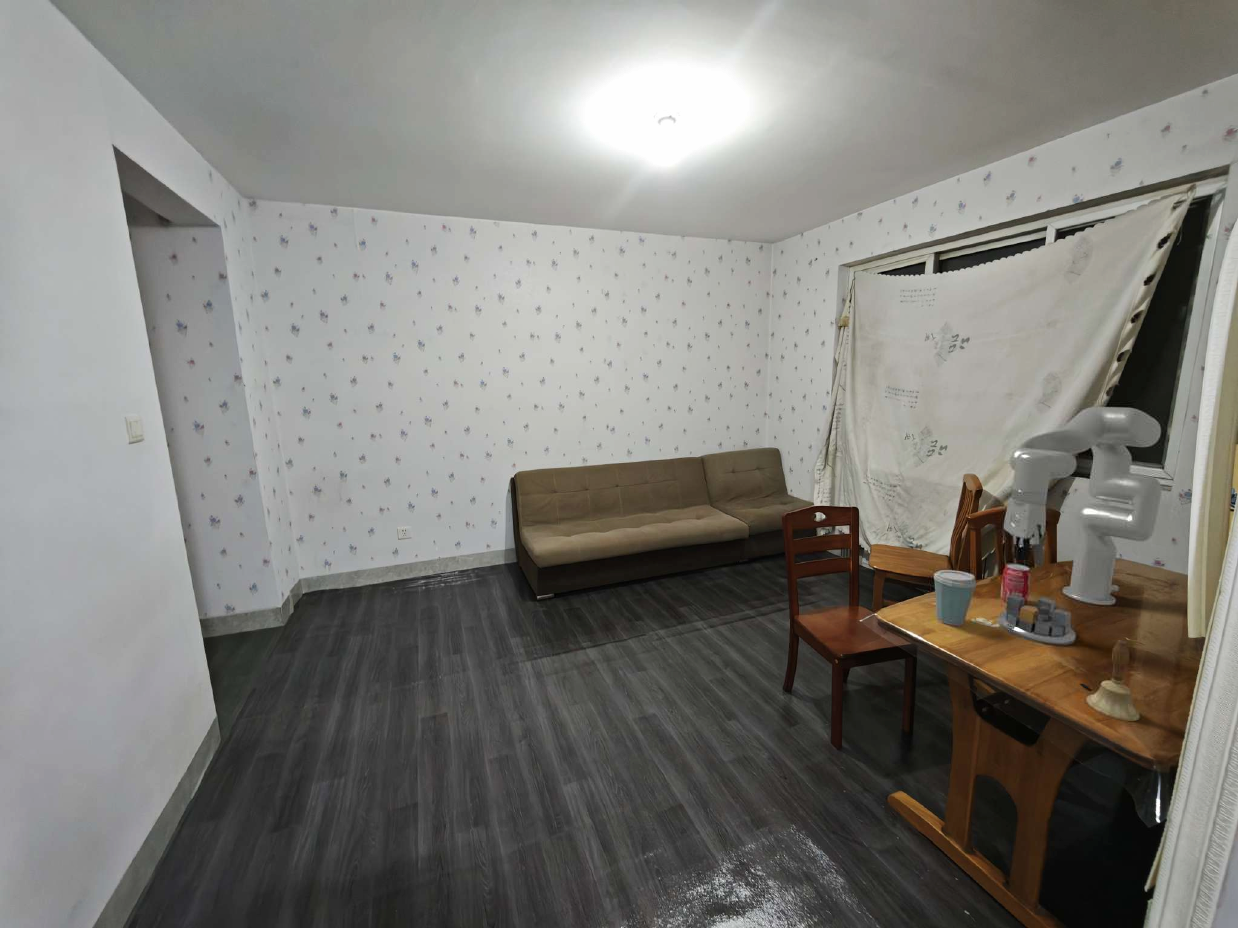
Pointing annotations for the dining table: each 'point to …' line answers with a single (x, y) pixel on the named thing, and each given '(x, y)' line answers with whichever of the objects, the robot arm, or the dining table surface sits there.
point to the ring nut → (1028, 616)
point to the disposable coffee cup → (953, 595)
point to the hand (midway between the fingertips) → (1020, 558)
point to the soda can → (1016, 582)
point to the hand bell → (1115, 689)
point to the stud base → (1033, 636)
